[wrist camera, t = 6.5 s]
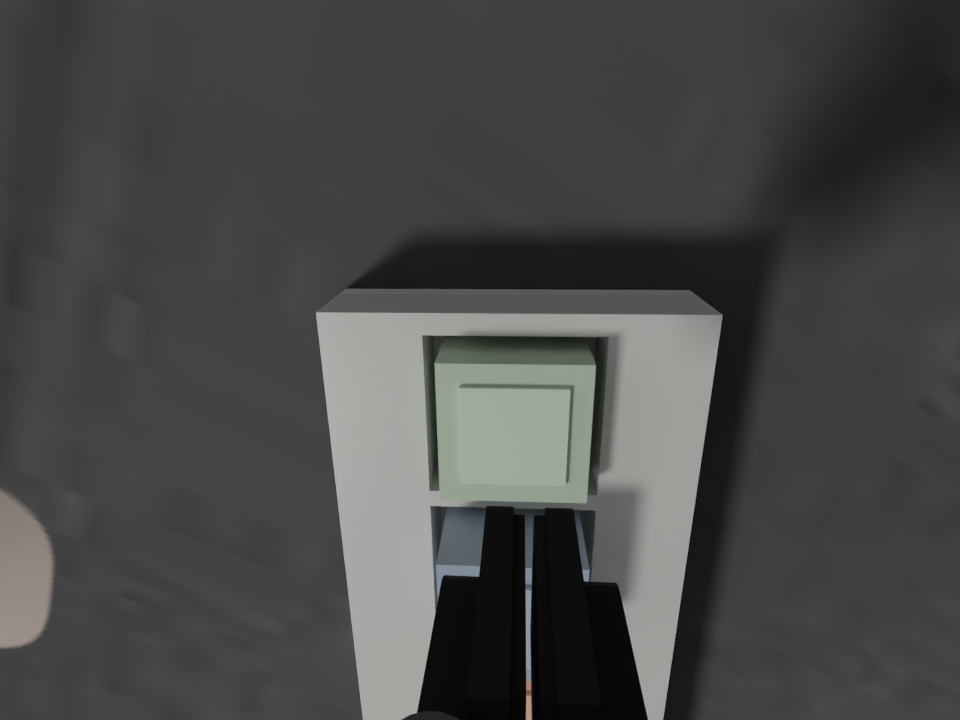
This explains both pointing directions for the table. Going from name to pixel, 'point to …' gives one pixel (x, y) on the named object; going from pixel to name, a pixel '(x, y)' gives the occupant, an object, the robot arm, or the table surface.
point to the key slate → (465, 550)
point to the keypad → (420, 513)
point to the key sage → (514, 418)
